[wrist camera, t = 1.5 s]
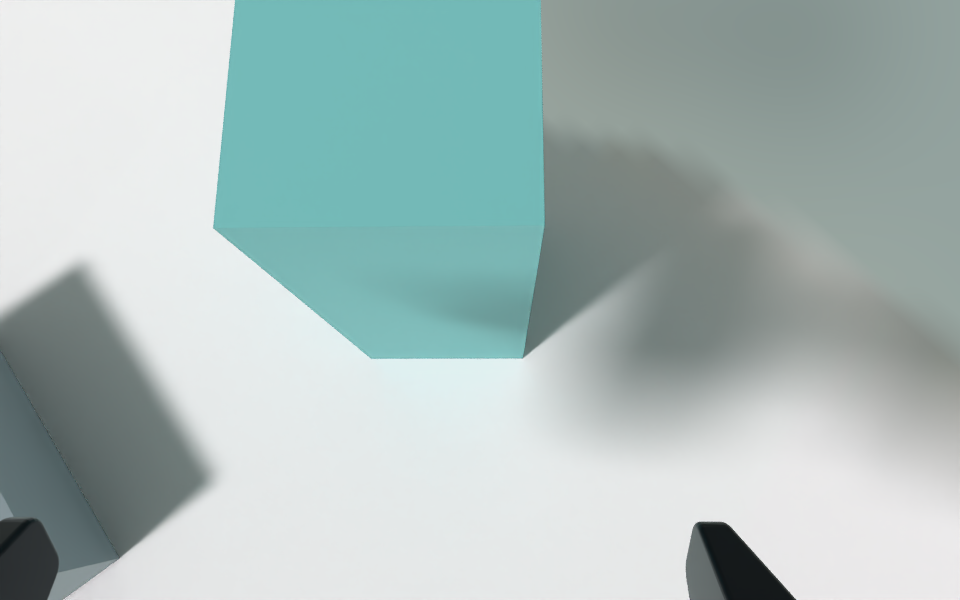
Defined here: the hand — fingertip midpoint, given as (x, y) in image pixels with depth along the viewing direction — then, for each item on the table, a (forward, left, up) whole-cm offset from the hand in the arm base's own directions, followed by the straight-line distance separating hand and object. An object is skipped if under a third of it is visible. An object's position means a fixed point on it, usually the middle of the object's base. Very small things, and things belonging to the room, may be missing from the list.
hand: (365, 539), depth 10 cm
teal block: (+6, -4, -13) cm, 15 cm away
